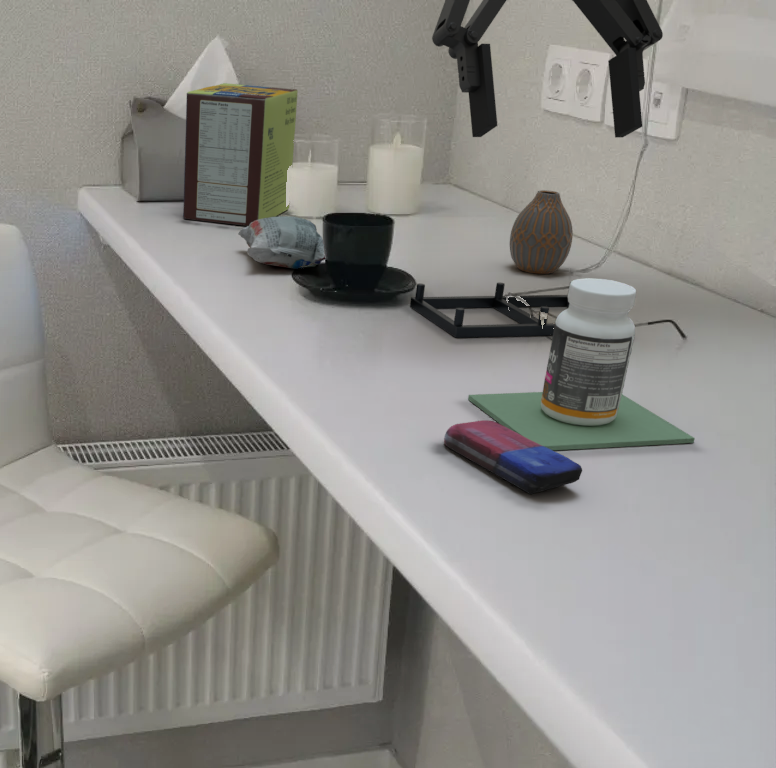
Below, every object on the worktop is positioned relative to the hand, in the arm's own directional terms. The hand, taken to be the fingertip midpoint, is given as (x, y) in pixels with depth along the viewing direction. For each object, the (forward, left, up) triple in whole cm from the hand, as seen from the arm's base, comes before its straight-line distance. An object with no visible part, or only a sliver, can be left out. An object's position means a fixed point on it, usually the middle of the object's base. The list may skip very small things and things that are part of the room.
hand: (558, 132), depth 96 cm
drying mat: (+4, +17, -19) cm, 26 cm away
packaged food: (+12, -34, -19) cm, 41 cm away
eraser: (+14, +25, -19) cm, 34 cm away
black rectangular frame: (-5, -10, -19) cm, 22 cm away
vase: (-18, -30, -19) cm, 40 cm away
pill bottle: (+4, +17, -19) cm, 25 cm away
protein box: (+9, -62, -19) cm, 66 cm away
